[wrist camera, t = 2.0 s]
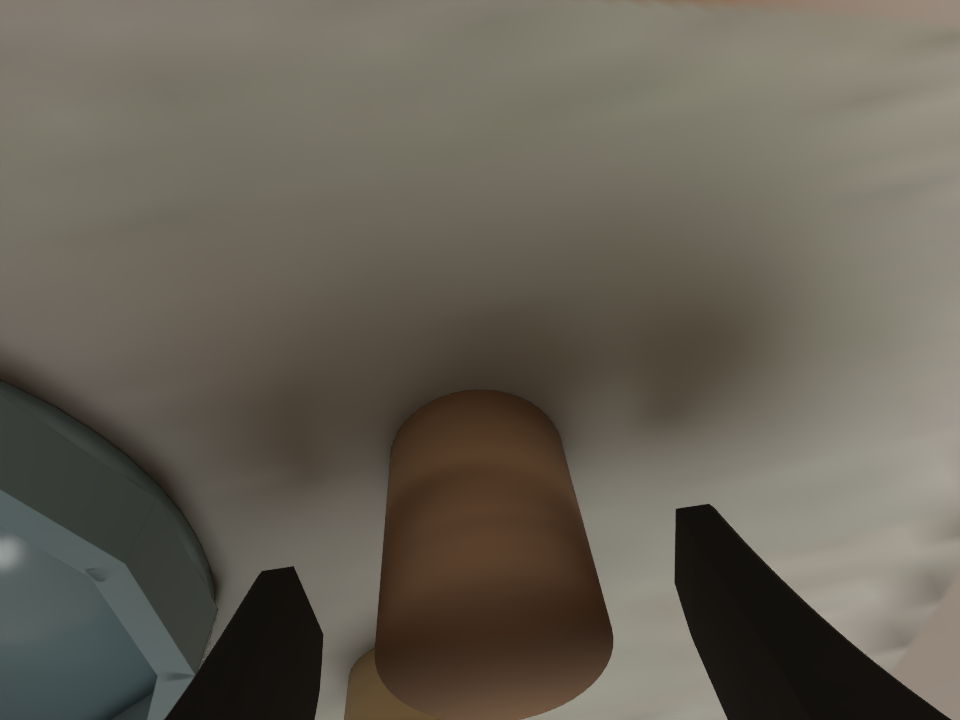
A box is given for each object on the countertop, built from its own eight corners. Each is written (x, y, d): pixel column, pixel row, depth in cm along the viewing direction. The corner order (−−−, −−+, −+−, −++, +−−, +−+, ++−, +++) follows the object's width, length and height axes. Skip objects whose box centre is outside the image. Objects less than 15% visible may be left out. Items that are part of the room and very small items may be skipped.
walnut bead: (568, 510, 16) (617, 705, 12) (409, 534, 16) (402, 736, 12) (554, 376, 14) (608, 556, 10) (372, 405, 14) (348, 595, 10)
